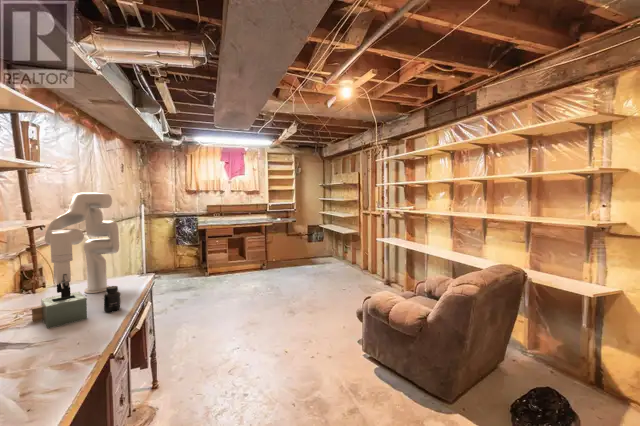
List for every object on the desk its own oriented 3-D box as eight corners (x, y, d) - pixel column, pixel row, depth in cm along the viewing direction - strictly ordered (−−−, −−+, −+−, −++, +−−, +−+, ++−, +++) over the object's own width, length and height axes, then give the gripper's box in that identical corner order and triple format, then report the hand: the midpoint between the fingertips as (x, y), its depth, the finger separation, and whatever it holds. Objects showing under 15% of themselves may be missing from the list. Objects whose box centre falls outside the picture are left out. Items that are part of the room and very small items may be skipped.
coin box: (42, 319, 139) (41, 298, 139) (79, 311, 150) (79, 291, 149) (47, 328, 130) (46, 306, 130) (87, 318, 141) (86, 298, 140)
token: (32, 320, 139) (31, 307, 139) (49, 316, 144) (48, 303, 144) (33, 321, 137) (32, 309, 137) (50, 317, 142) (49, 305, 142)
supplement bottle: (112, 313, 147) (111, 289, 147) (100, 312, 149) (99, 288, 148) (123, 308, 154) (123, 285, 153) (112, 307, 155) (112, 284, 155)
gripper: (47, 256, 141) (49, 292, 142) (54, 262, 130) (56, 300, 131) (68, 254, 147) (69, 288, 148) (76, 259, 136) (78, 296, 137)
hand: (63, 294), depth 139 cm, fingers open, 9 cm apart
